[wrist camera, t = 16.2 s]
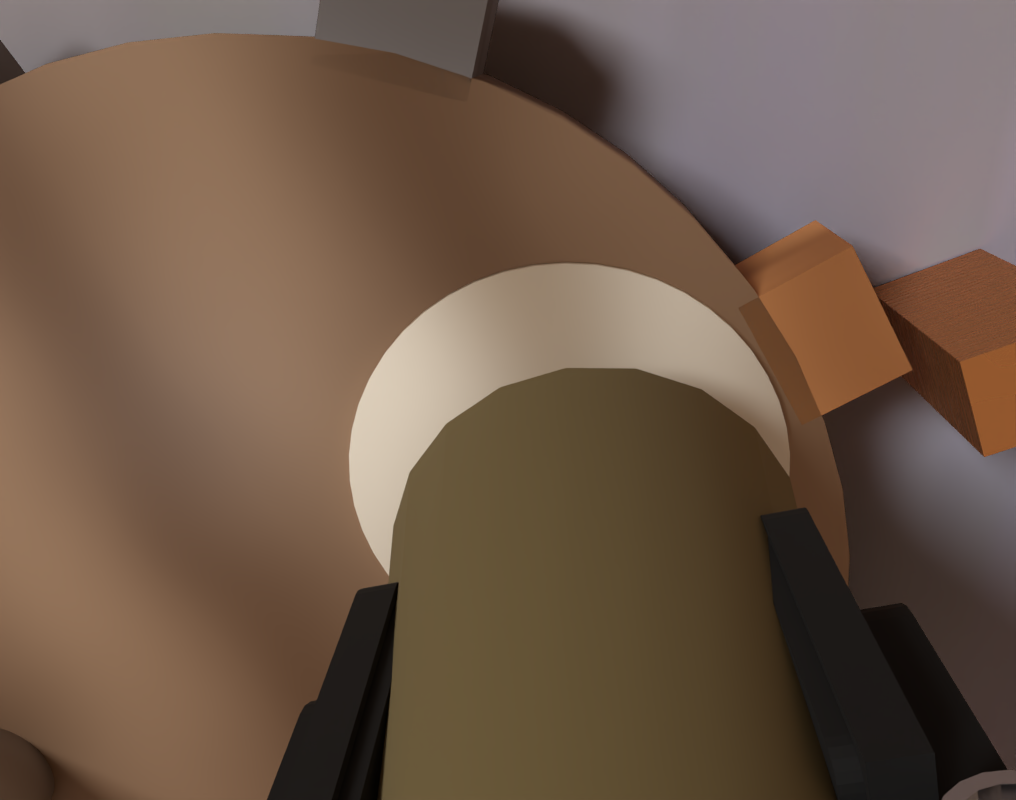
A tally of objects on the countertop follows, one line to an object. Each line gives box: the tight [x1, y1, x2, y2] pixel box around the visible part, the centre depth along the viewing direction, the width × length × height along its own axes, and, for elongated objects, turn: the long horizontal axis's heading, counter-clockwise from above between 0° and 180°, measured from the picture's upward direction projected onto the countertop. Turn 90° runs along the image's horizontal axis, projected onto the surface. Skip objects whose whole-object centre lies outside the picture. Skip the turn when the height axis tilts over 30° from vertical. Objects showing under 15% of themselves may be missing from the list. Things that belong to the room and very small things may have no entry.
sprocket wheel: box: [0, 0, 913, 800], centre depth 14 cm, size 22×22×7 cm
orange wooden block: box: [873, 249, 1016, 457], centre depth 16 cm, size 19×12×4 cm, turn 129°
